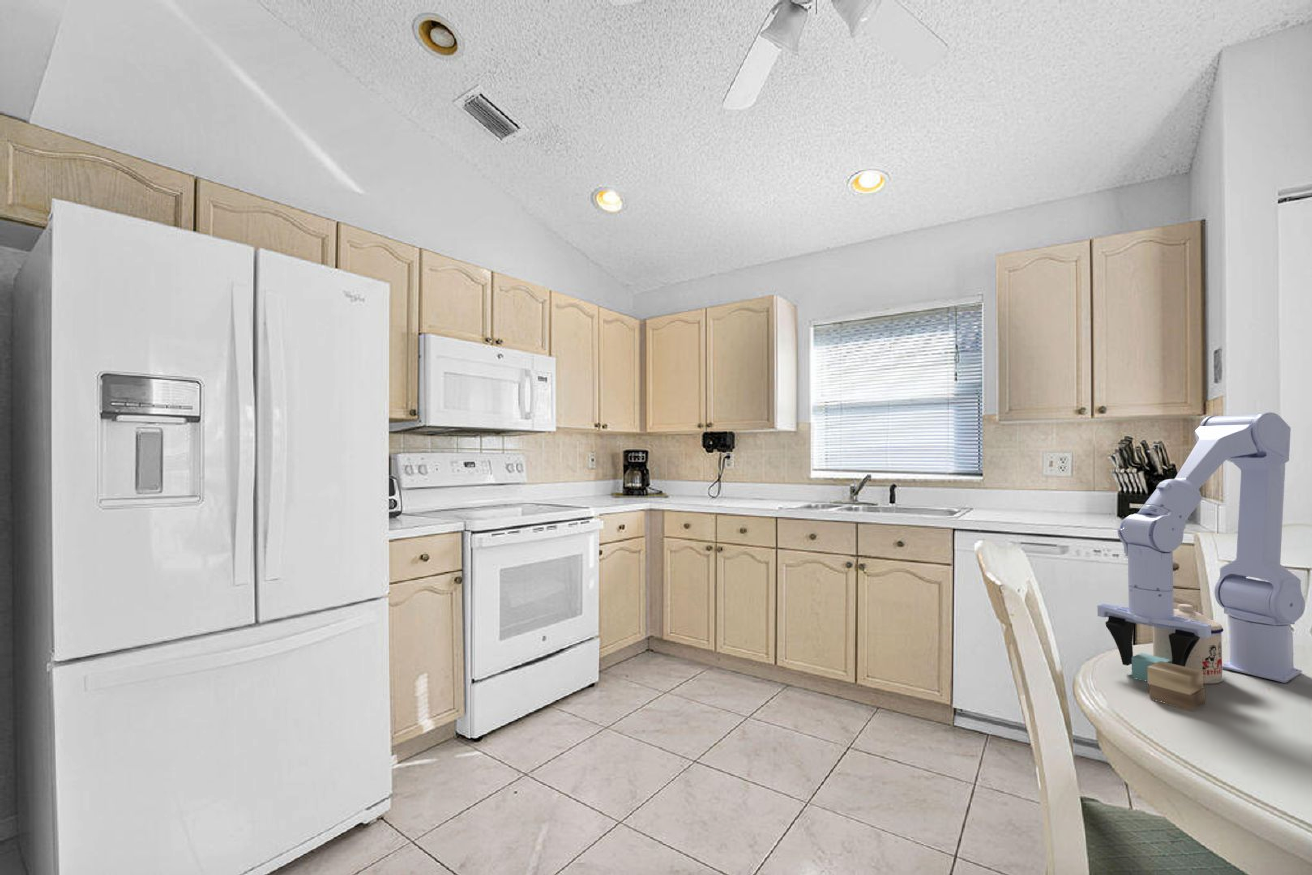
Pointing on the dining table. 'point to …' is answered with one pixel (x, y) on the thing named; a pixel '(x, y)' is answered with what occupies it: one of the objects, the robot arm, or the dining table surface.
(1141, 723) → the dining table surface
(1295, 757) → the dining table surface
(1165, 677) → the oak slab upper
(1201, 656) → the ceramic jar
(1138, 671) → the teal block
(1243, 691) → the dining table surface
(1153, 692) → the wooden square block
